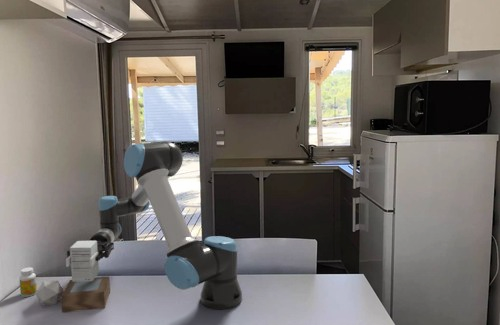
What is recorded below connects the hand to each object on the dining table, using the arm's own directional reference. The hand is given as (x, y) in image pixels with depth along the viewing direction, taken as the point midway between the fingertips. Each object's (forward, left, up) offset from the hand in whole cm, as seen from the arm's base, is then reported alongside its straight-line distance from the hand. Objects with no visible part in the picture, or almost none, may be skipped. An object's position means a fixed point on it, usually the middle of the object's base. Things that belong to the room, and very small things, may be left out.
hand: (79, 262), depth 135 cm
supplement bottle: (+22, -16, -17) cm, 32 cm away
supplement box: (-1, -5, -8) cm, 9 cm away
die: (+12, -7, -17) cm, 22 cm away
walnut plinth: (-1, -5, -17) cm, 17 cm away
